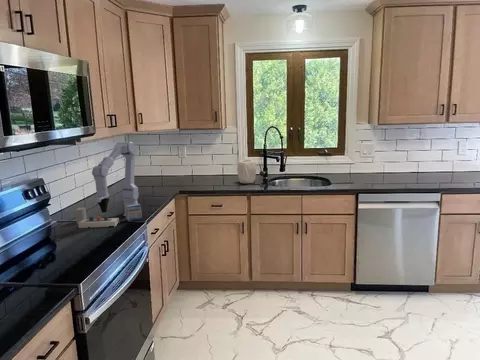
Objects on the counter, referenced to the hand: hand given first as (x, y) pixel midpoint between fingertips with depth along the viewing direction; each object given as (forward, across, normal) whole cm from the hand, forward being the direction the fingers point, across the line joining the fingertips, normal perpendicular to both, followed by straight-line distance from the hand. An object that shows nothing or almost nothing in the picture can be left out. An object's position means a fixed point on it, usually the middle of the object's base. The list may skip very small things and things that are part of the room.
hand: (104, 212), depth 207 cm
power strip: (+7, 0, -4) cm, 8 cm away
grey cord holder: (+8, -8, -16) cm, 20 cm away
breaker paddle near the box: (+4, 0, 0) cm, 5 cm away
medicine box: (+8, -9, +14) cm, 18 cm away
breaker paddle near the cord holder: (+4, 0, -8) cm, 9 cm away
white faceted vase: (+8, -109, +82) cm, 136 cm away
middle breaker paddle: (+4, 0, -4) cm, 6 cm away
